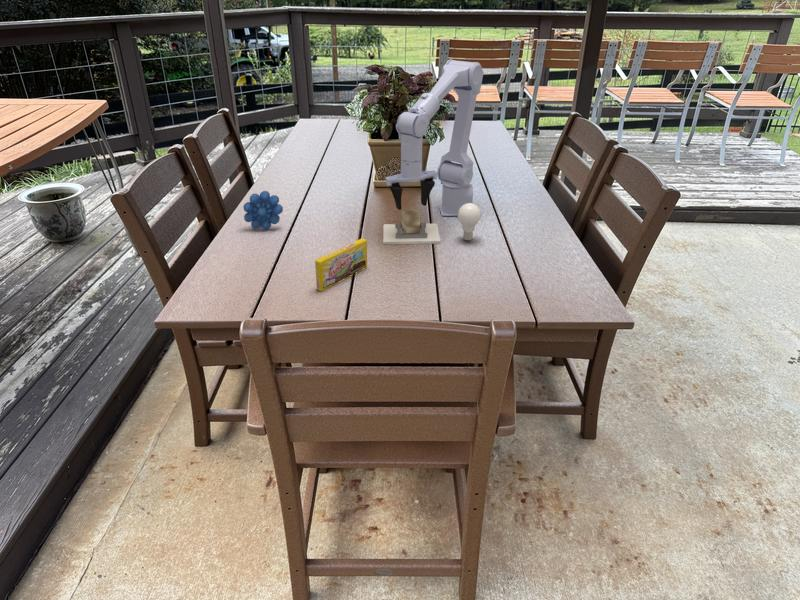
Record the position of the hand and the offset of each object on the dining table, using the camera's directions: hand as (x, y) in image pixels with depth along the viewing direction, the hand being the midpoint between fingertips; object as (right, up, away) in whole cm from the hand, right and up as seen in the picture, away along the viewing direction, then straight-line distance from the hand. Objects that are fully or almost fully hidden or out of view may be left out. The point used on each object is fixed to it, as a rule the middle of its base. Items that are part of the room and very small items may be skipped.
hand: (411, 206), depth 154 cm
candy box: (-17, -21, -17) cm, 32 cm away
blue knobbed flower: (-43, -5, +9) cm, 44 cm away
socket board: (0, -7, +5) cm, 9 cm away
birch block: (0, -7, +4) cm, 8 cm away
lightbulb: (+16, -10, +2) cm, 19 cm away
